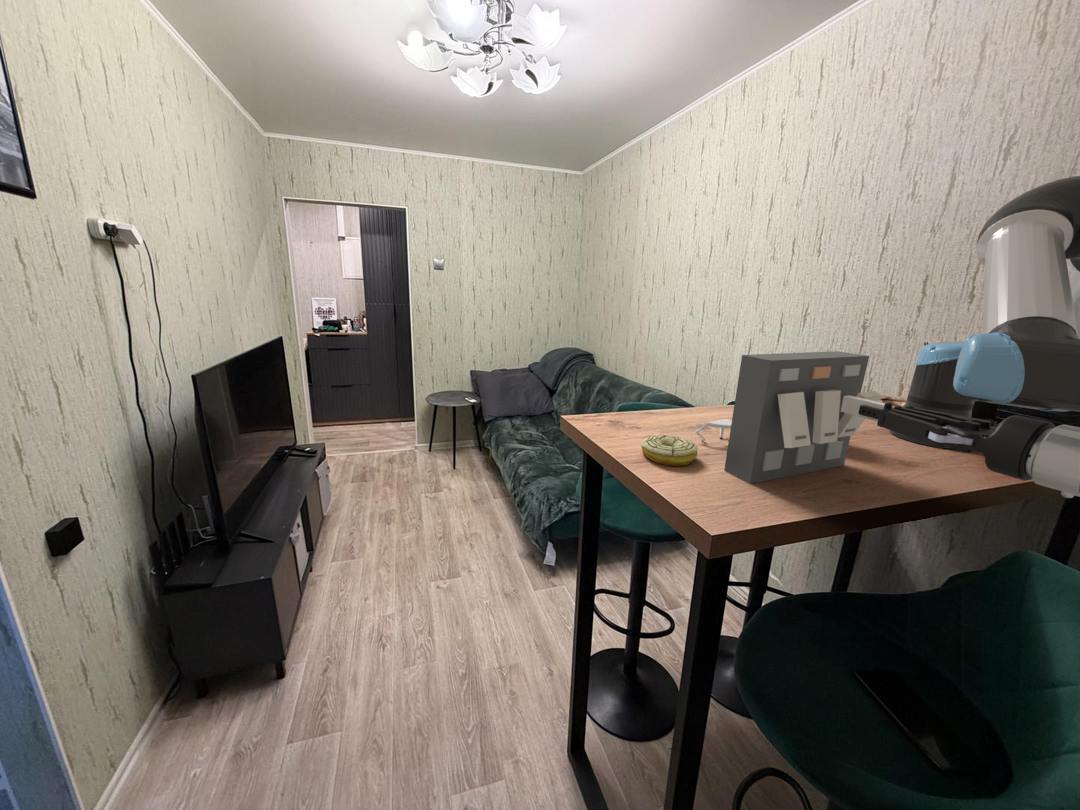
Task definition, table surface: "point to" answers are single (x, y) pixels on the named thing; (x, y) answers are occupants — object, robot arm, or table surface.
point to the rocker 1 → (794, 420)
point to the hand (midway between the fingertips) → (845, 403)
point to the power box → (758, 413)
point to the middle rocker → (826, 416)
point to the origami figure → (718, 423)
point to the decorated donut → (669, 450)
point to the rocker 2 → (854, 417)
